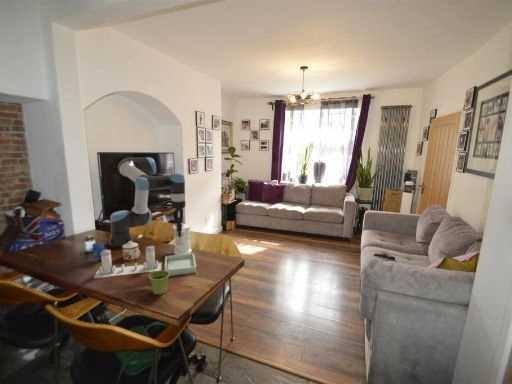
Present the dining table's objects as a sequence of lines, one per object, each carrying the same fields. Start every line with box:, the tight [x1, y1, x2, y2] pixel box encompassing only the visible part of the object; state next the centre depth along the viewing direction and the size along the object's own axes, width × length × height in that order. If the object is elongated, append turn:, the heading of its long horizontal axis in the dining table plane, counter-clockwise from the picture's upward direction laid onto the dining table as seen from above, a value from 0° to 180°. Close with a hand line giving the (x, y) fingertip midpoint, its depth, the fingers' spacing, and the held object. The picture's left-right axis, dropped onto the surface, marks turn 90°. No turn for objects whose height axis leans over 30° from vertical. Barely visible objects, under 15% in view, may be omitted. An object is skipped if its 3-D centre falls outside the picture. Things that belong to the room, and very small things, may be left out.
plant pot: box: [148, 270, 170, 295], centre depth 123 cm, size 9×9×9 cm
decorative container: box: [173, 223, 193, 255], centre depth 170 cm, size 12×12×18 cm
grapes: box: [91, 241, 108, 261], centre depth 154 cm, size 12×7×12 cm, turn 71°
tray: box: [163, 252, 198, 277], centre depth 150 cm, size 20×17×3 cm
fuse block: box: [93, 245, 163, 279], centre depth 141 cm, size 10×33×14 cm, turn 107°
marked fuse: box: [174, 222, 184, 245], centre depth 147 cm, size 5×5×12 cm
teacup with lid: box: [121, 241, 141, 261], centre depth 158 cm, size 12×9×12 cm
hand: (179, 240), depth 148 cm, fingers closed on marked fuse, 5 cm apart
